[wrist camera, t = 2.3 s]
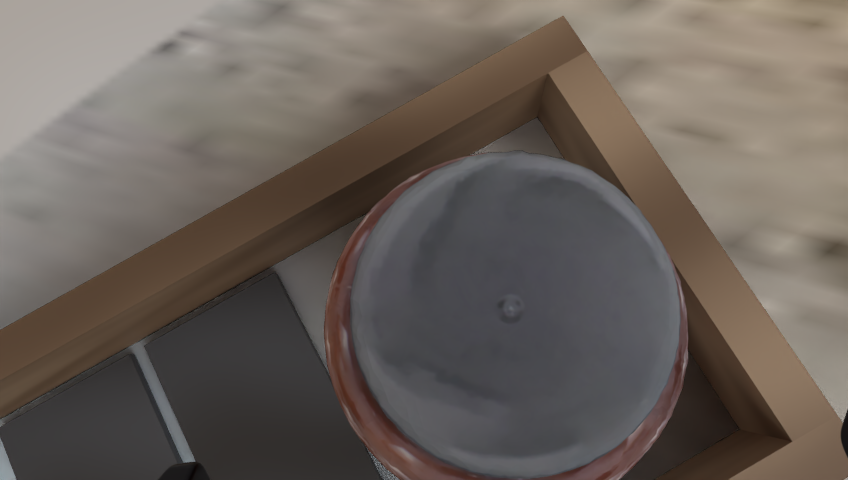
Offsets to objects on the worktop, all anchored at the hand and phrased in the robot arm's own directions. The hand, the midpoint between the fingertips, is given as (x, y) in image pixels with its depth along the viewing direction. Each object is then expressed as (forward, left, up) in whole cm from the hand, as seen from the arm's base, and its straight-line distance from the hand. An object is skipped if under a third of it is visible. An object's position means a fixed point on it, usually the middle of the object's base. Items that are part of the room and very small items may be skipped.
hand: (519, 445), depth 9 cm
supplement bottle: (+2, -1, -10) cm, 10 cm away
